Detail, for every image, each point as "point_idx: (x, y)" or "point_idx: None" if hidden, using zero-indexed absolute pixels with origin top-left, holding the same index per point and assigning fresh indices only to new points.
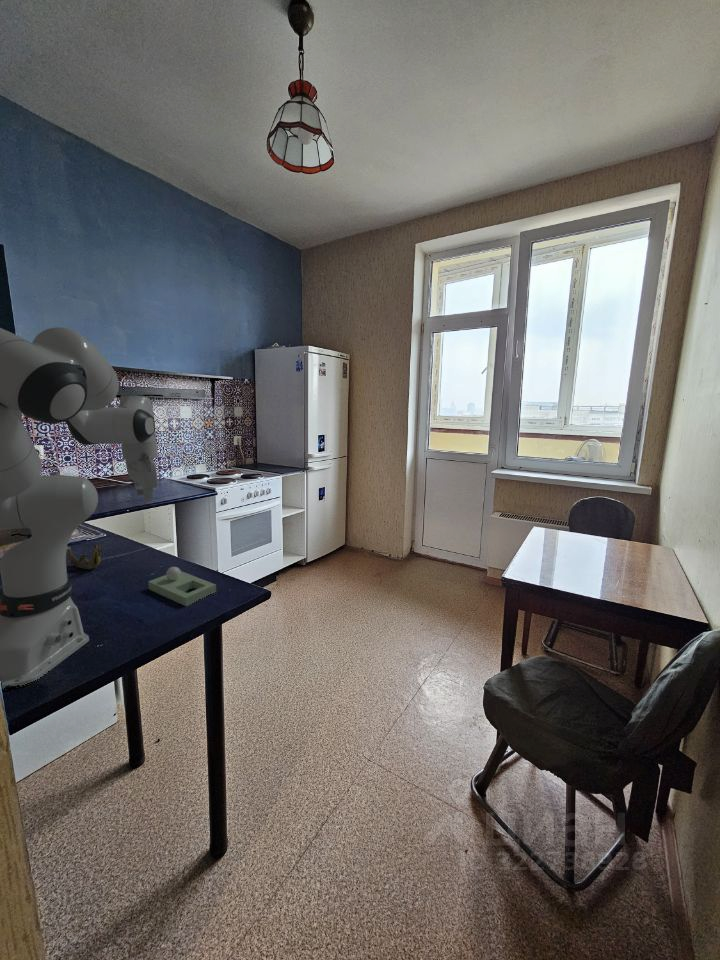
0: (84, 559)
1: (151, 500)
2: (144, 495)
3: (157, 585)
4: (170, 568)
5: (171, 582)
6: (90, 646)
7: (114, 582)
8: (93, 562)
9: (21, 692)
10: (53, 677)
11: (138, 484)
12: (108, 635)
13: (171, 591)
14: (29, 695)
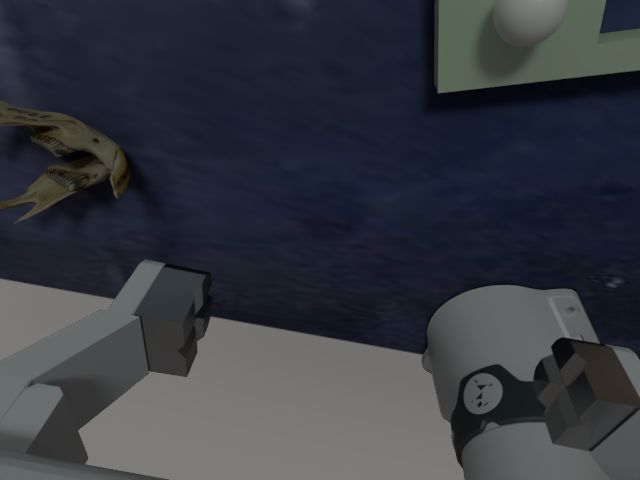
0: (91, 184)
1: (627, 350)
2: (606, 458)
3: (506, 84)
4: (535, 30)
5: None
6: (596, 293)
7: (280, 139)
8: (129, 169)
9: None
10: None
11: (69, 400)
12: (593, 260)
13: (611, 71)
14: None
